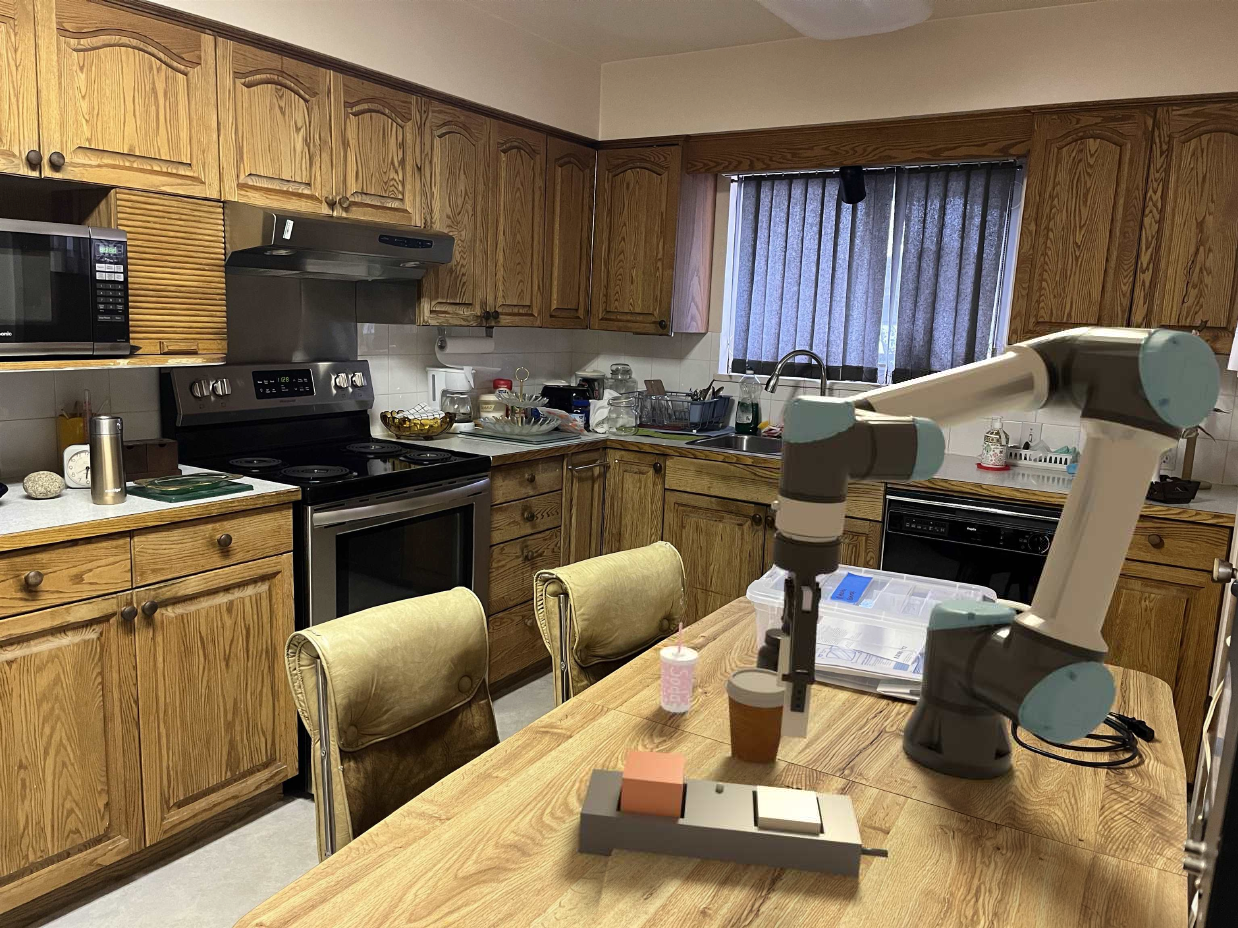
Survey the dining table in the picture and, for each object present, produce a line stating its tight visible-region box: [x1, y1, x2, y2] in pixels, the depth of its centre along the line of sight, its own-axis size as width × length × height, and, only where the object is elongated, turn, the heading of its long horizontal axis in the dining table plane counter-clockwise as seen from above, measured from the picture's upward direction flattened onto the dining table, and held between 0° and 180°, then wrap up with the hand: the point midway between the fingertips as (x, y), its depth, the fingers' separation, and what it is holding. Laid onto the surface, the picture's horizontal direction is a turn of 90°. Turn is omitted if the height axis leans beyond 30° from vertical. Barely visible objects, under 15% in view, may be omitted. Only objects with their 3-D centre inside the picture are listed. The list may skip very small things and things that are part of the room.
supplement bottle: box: [755, 627, 786, 672], centre depth 150 cm, size 7×7×12 cm
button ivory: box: [754, 785, 821, 834], centre depth 109 cm, size 7×7×5 cm
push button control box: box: [578, 768, 889, 878], centre depth 110 cm, size 36×10×6 cm, turn 83°
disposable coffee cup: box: [724, 667, 785, 765], centre depth 131 cm, size 10×10×12 cm
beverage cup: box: [659, 622, 699, 713], centre depth 146 cm, size 6×6×14 cm
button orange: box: [620, 749, 686, 818], centre depth 110 cm, size 7×7×5 cm
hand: (790, 709), depth 107 cm, fingers open, 13 cm apart
